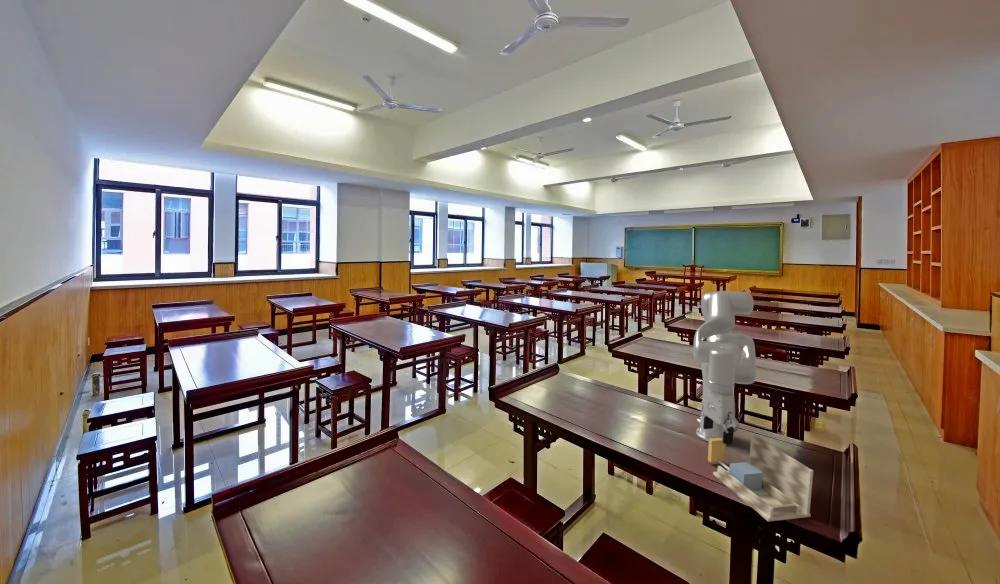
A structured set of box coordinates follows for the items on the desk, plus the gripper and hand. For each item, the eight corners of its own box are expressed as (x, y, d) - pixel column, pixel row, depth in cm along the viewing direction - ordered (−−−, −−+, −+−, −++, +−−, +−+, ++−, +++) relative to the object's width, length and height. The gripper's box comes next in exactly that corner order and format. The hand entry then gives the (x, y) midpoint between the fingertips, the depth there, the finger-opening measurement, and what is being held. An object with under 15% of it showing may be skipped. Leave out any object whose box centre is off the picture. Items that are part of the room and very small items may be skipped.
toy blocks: (706, 460, 135) (707, 438, 134) (722, 458, 136) (724, 437, 135) (743, 490, 119) (744, 466, 118) (761, 488, 119) (763, 464, 118)
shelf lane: (713, 474, 129) (715, 435, 127) (748, 470, 130) (751, 432, 129) (768, 521, 107) (771, 475, 105) (810, 516, 109) (814, 471, 107)
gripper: (693, 377, 140) (691, 424, 142) (728, 398, 123) (724, 450, 125) (713, 376, 141) (711, 422, 143) (750, 396, 124) (747, 448, 126)
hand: (717, 435), depth 134 cm, fingers open, 9 cm apart
